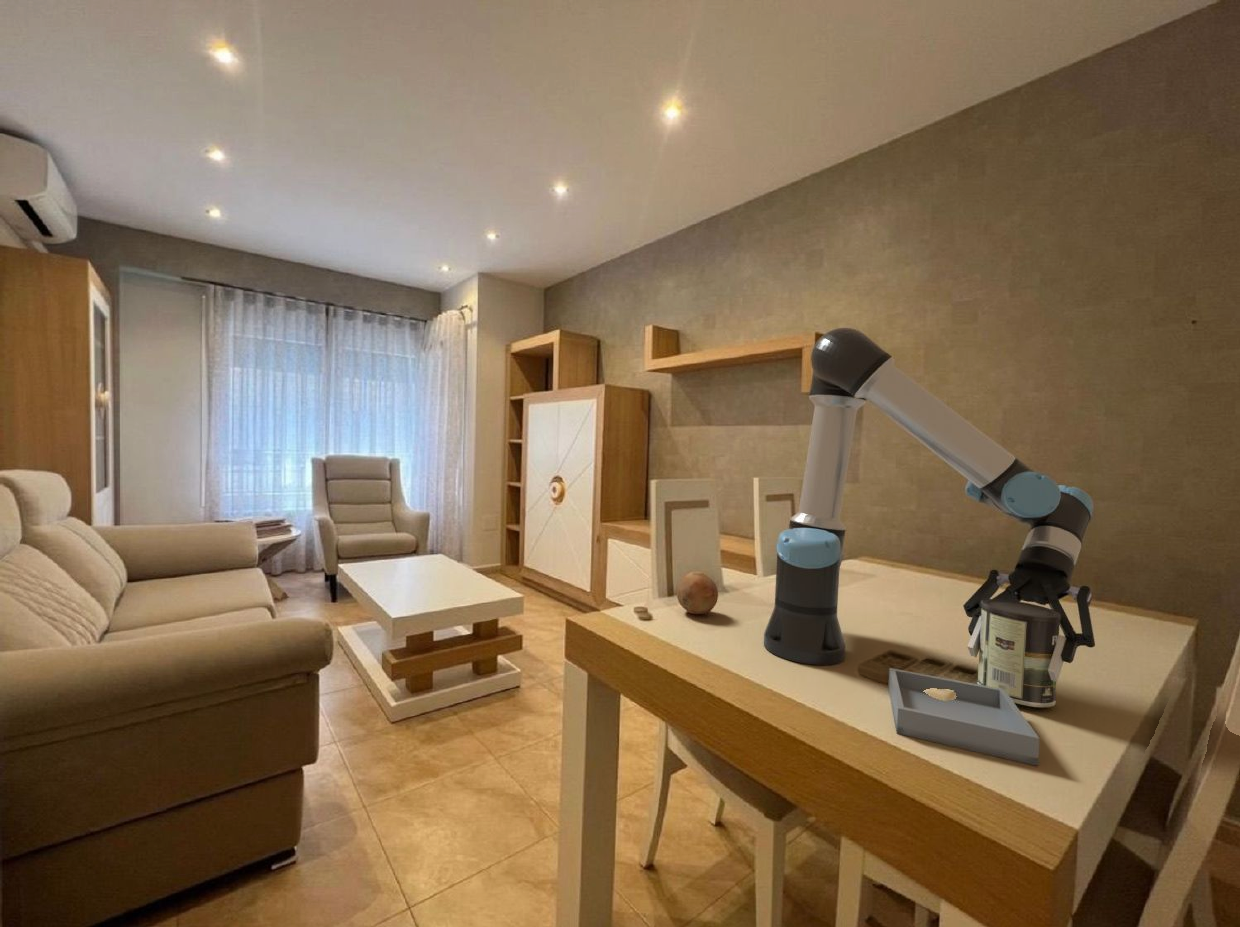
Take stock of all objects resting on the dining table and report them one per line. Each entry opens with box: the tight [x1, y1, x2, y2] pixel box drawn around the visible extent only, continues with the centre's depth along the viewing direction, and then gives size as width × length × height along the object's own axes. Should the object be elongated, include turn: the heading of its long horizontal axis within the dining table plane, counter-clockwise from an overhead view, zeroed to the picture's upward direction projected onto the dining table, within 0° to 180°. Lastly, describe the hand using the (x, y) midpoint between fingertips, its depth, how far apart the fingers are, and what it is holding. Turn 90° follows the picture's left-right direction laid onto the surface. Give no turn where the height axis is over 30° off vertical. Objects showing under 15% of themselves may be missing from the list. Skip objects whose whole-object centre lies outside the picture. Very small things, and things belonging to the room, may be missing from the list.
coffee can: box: [976, 598, 1061, 709], centre depth 83 cm, size 10×10×14 cm
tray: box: [887, 667, 1040, 767], centre depth 74 cm, size 16×16×4 cm
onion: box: [676, 571, 719, 615], centre depth 121 cm, size 10×10×10 cm
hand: (1010, 663), depth 81 cm, fingers closed on coffee can, 10 cm apart
